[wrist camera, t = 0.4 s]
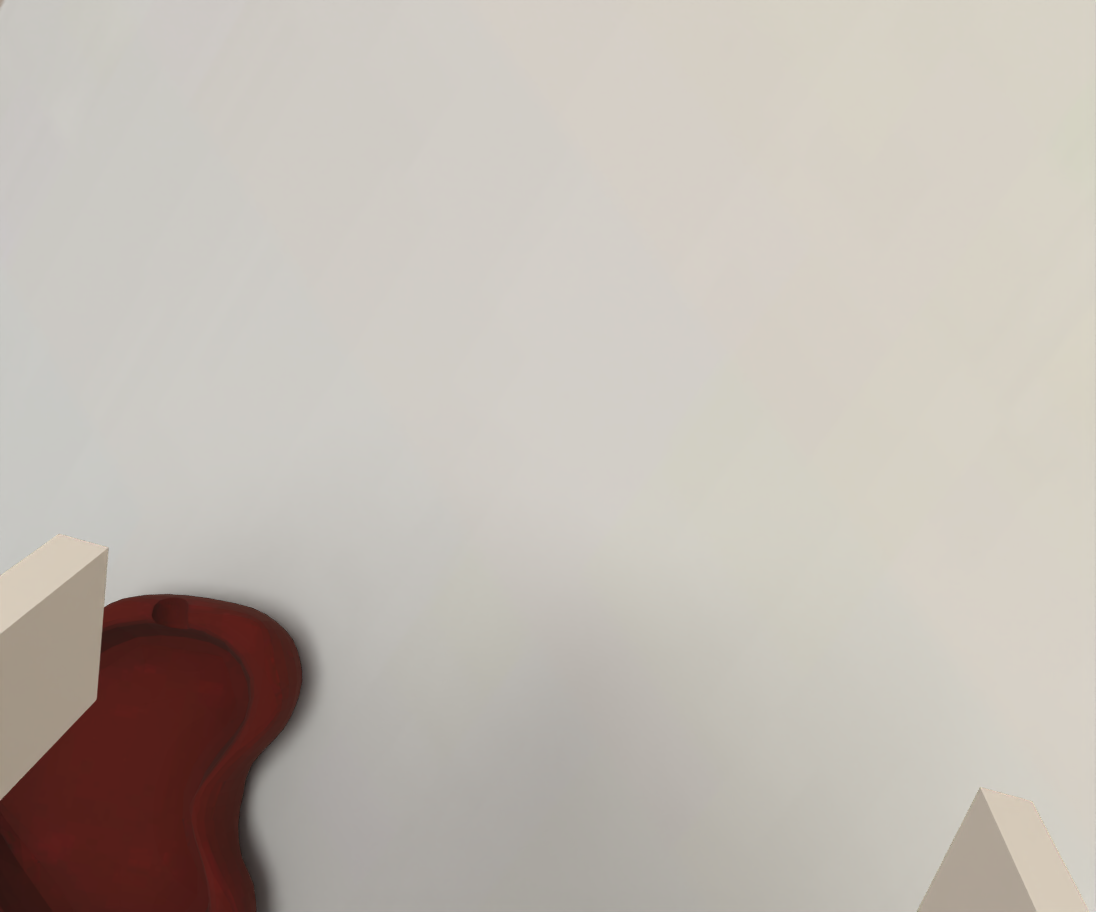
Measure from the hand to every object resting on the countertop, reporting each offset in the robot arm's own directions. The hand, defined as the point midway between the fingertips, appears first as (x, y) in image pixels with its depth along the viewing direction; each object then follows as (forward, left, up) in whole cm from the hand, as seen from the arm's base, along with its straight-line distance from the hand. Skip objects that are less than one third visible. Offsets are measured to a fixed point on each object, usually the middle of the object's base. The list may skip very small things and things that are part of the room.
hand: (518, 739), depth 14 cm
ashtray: (+3, +23, -33) cm, 40 cm away
